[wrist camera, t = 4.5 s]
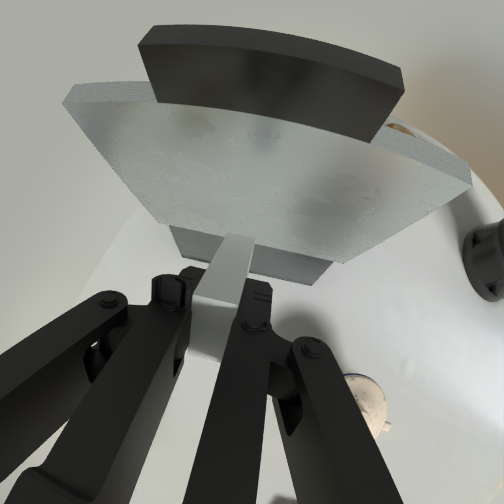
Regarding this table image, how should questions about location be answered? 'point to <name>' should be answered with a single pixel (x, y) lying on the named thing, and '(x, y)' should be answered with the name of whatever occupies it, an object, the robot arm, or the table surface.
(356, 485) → the robot arm
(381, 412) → the teacup with lid
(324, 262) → the grey storage box
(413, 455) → the table surface
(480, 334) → the table surface
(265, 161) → the lid
